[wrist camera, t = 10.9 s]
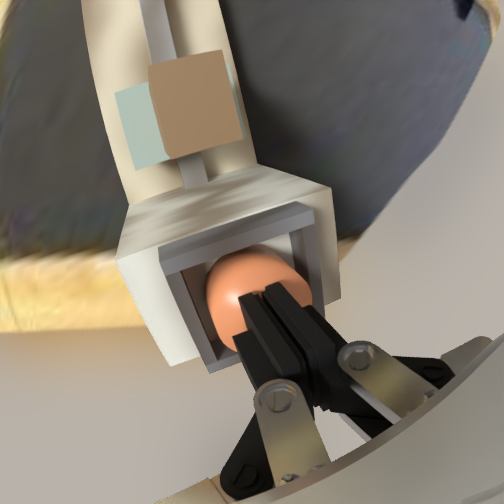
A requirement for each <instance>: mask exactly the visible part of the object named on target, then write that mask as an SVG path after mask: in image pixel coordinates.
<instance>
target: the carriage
mask: <svg viewBox="0 0 504 504" xmlns="http://www.w3.org/2000/svg"><path fill="white" fill-rule="evenodd" d="M114 94H115V98H116V103H117V107H118V111H119V114H120V118H121V122H122V126H123V130H124V133H125V137H126V140H127V144H128V147H129V151H130V154H131V158H132V161H133V164H134V168H135V171H137V170H139V169H142V168H145V167H148V166H151V165H154V164H157V163H160V162H163V161H166V160H169V159H175V158H178V157H182V156H185V155H188V154H191V153H195V152H198V151H202V150H205V149H209V148H212V147H216V146H219V145H223V144H227V143H231V142H234V141H238V140H242V139H243V138H246V133H245V129H244V125H243V120H242V116H241V112H240V108H239V103H238V99H237V95H236V91H235V86H234V82H233V78H232V74H231V70H230V66H229V63H225V60H224V55H223V51H222V49H221V50H215V51H210V52H204V53H199V54H194V55H190V56H185V57H181V58H176V59H172V60H168V61H164V62H161V63H157V64H153V65H150V66H148V82H145V83H142V84H139V85H136V86H133V87H130V88H127V89H124V90H121V91H118V92H115V93H114Z"/></svg>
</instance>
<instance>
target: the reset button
mask: <svg viewBox="0 0 504 504" xmlns="http://www.w3.org/2000/svg"><path fill="white" fill-rule="evenodd" d="M275 282H280V283H281V284H282V285H283V286H284V287H285V289H286V290H287V291H288V292H289V293H290V294H291V295H292V296H293V297H294V299H295V300H296V301H297V302H298V303H299V304H300V305H301V306H302V307H304V306H307V305H312V294H311V290H310V288H309V286H308V284H307V282H306V281H305V280H304V279H303V278H302V277H301V276H300V275H299V274H298V273H297V272H296V271H295V270H294V269H293V268H292V267H291V266H290V265H289V264H288V263H287V262H285V261H284V260H283V259H282V258H281V257H280V256H279V255H278V254H277V253H276V252H275V251H273V250H271V249H269V248H267V247H264V246H259V245H252V246H249V247H246V248H243V249H240V250H237V251H235V252H232V253H229V254H226V255H223V256H221V257H220V258H219V259H218V260H217V261H216V262H215V263H214V264H213V266H212V267H211V269H210V270H209V272H208V274H207V276H206V279H205V283H204V297H205V301H206V304H207V306H208V309H209V312H210V314H211V317H212V320H213V322H214V325H215V327H216V330H217V332H218V335H219V337H220V339H221V340H222V342H223V343H224V344H225V345H226V346H227V347H229V348H230V349H232V350H234V351H236V352H237V349H236V347H235V344H234V341H233V338H232V336H234V335H237V334H239V333H242V332H244V331H247V327H246V324H245V321H244V317H243V314H242V311H241V308H240V304H239V301H238V297H239V296H242V295H245V294H247V293H250V292H252V293H253V295H255V294H259V296H260V297H261V298H262V294H261V292H263V291H265V286H268V285H270V284H273V283H275ZM262 300H263V298H262Z"/></svg>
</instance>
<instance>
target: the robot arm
mask: <svg viewBox="0 0 504 504" xmlns="http://www.w3.org/2000/svg"><path fill="white" fill-rule="evenodd" d="M261 294H262V298H263V300H262V298H261V297H260V296H259V294H255V295H253V293H252V292H250V293H247V294H245V295H242V296H239V297H238V301H239V304H240V308H241V311H242V314H243V317H244V321H245V324H246V327H247V331H244V332H242V333H239V334H237V335H234V336H232V338H233V341H234V344H235V347H236V349H237V352H238V354H239V357H240V359H241V362H242V363H243V366H244V368H245V370H246V373H247V375H248V377H249V379H250V381H251V383H252V385H253V387H254V389H255V391H256V393H255V396H254V399H253V400H254V408H255V411H256V412H255V413H254V415H253V417H252V419H251V421H250V423H249V424H248V426H247V428H246V430H245V432H244V433H243V435H242V437H241V438H240V440H239V442H238V444H237V445H236V447H235V449H234V450H233V452H232V454H231V456H230V457H229V459H228V461H227V462H226V464H225V466H224V467H223V469H222V471H221V473H220V474H219V475H217V476H215V477H213V478H211V479H209V478H206V479H204V480H202V481H201V482H198V483H196V484H194V485H193V486H190V487H188V488H186V489H184V490H182V491H180V492H178V493H176V494H173V495H171V496H169V497H167V498H164V499H162V500H160V501H158V502H156V503H155V504H504V334H502V335H500V336H499V337H498V338H496V339H495V340H494V341H492V340H491V339H490V338H487V337H484V336H479V337H476V338H474V339H472V340H470V341H468V342H467V343H464V344H463V345H461V346H459V347H457V348H455V349H453V350H451V351H449V352H447V353H445V354H443V355H441V358H440V359H435V358H420V357H401V356H391V355H389V354H388V353H386V352H385V351H384V350H382V349H381V348H379V347H378V346H376V345H375V344H373V343H371V342H367V341H354V342H351V343H349V344H348V343H347V342H346V341H345V340H344V339H343V338H342V337H341V336H340V335H339V333H338V332H337V331H336V330H335V329H334V328H333V327H332V326H331V325H330V324H329V323H328V322H327V321H326V320H325V319H324V318H323V317H322V315H321V314H320V313H319V312H318V311H317V310H316V309H315V308H314V307H313V306H312V305H307V306H304V307H302V306H301V305H300V304H299V303H298V302H297V301H296V300H295V299H294V297H293V296H292V295H291V294H290V293H289V292H288V291H287V290H286V289H285V287H284V286H283V285H282V284H281V283H280V282H275V283H273V284H270V285H268V286H265V291H263V292H261ZM313 406H314V407H317V406H320V407H321V409H322V410H323V411H326V410H328V409H330V411H331V412H335V413H339V415H340V417H341V418H342V419H343V420H344V421H345V422H346V423H347V424H348V425H349V426H350V427H351V428H352V429H353V430H354V431H355V432H356V433H358V434H359V435H360V436H361V437H362V438H363V439H364V440H365V441H366V442H367V443H365V444H364V445H362V446H360V447H359V448H356V449H355V450H353V451H351V452H350V453H348V454H346V455H344V456H342V457H340V458H339V459H337V460H335V461H333V462H331V461H330V458H329V456H328V453H327V451H326V449H325V446H324V444H323V441H322V439H321V437H320V434H319V432H318V429H317V427H316V425H315V422H314V421H315V418H314V409H313Z"/></svg>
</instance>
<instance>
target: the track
mask: <svg viewBox="0 0 504 504" xmlns="http://www.w3.org/2000/svg"><path fill="white" fill-rule="evenodd" d="M81 3H82V12H83V20H84V27H85V33H86V40H87V46H88V51H89V57H90V62H91V67H92V72H93V77H94V82H95V86H96V91H97V95H98V99H99V103H100V108H101V112H102V116H103V119H104V123H105V127H106V131H107V134H108V138H109V141H110V145H111V148H112V152H113V155H114V159H115V162H116V165H117V168H118V172H119V175H120V178H121V181H122V184H123V187H124V190H125V193H126V196H127V199H128V202H129V209H128V212H127V215H126V219H125V223H124V226H123V230H122V234H121V238H120V242H119V246H118V250H117V254H116V258H115V262H116V264H117V266H118V269H119V271H120V273H121V275H122V277H123V279H124V282H125V284H126V286H127V288H128V290H129V292H130V294H131V296H132V298H133V300H134V302H135V304H136V306H137V308H138V310H139V312H140V314H141V316H142V318H143V319H144V321H145V323H146V325H147V327H148V329H149V330H150V332H151V334H152V336H153V338H154V340H155V341H156V343H157V345H158V346H159V348H160V350H161V352H162V354H163V355H164V357H165V359H166V360H167V362H168V364H169V365H170V366H173V365H176V364H179V363H182V362H185V361H188V360H191V359H193V358H196V357H199V356H201V357H202V360H203V361H204V364H205V366H206V367H207V369H208V371H209V373H213V372H216V371H218V370H221V369H224V368H227V367H229V366H232V365H234V364H237V363H239V362H241V359H240V357H239V354H238V352H236V351H234V350H232V349H230V348H229V347H227V346H226V345H225V344H224V343H223V342H222V340H221V339H220V337H219V335H218V332H217V330H216V327H215V325H214V322H213V320H212V317H211V314H210V312H209V309H208V306H207V304H206V301H205V297H204V283H205V279H206V276H207V274H208V272H209V270H210V269H211V267H212V266H213V264H214V263H215V262H216V261H217V260H218V259H219V258H220V257H221V256H223V255H226V254H229V253H232V252H235V251H237V250H240V249H243V248H246V247H249V246H252V245H259V246H264V247H267V248H269V249H271V250H273V251H275V252H276V253H277V254H278V255H279V256H280V257H281V258H282V259H283V260H284V261H285V262H287V263H288V264H289V265H290V266H291V267H292V268H293V269H294V270H295V271H296V272H297V273H298V274H299V275H300V276H301V277H302V278H303V279H304V280H305V281H306V282H307V284H308V286H309V288H310V290H311V294H312V306H313V307H314V308H315V309H316V310H317V311H318V312H319V313H320V314H321V315H322V317H323V318H324V319H325V310H324V306H325V305H327V304H329V303H331V302H334V301H336V300H338V299H340V298H341V292H340V291H341V290H340V274H339V260H338V248H337V236H336V226H335V217H334V208H333V199H332V191H331V188H330V187H327V186H324V185H321V184H318V183H315V182H313V181H310V180H307V179H304V178H301V177H298V176H295V175H292V174H289V173H285V172H282V171H279V170H276V169H273V168H269V167H266V166H263V165H260V164H257V160H256V155H255V151H254V146H253V142H252V137H251V133H250V129H249V124H248V120H247V116H246V111H245V107H244V103H243V98H242V94H241V90H240V86H239V82H238V77H237V73H236V69H235V65H234V61H233V57H232V53H231V49H230V45H229V41H228V37H227V33H226V29H225V25H224V21H223V17H222V13H221V10H220V6H219V2H218V0H81ZM221 49H222V51H223V55H224V60H225V63H229V66H230V70H231V74H232V78H233V82H234V86H235V91H236V95H237V99H238V103H239V108H240V112H241V116H242V120H243V125H244V129H245V133H246V138H243V139H242V140H238V141H234V142H231V143H227V144H223V145H219V146H216V147H212V148H209V149H205V150H202V151H198V152H195V153H191V154H188V155H185V156H182V157H178V158H175V159H169V160H166V161H163V162H160V163H157V164H154V165H151V166H148V167H145V168H142V169H139V170H137V171H135V168H134V164H133V161H132V158H131V154H130V151H129V147H128V144H127V140H126V137H125V133H124V130H123V126H122V122H121V118H120V114H119V111H118V107H117V103H116V98H115V94H114V93H115V92H118V91H121V90H124V89H127V88H130V87H133V86H136V85H139V84H142V83H145V82H148V66H150V65H153V64H157V63H161V62H164V61H168V60H172V59H176V58H181V57H185V56H190V55H194V54H199V53H204V52H210V51H215V50H221Z"/></svg>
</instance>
